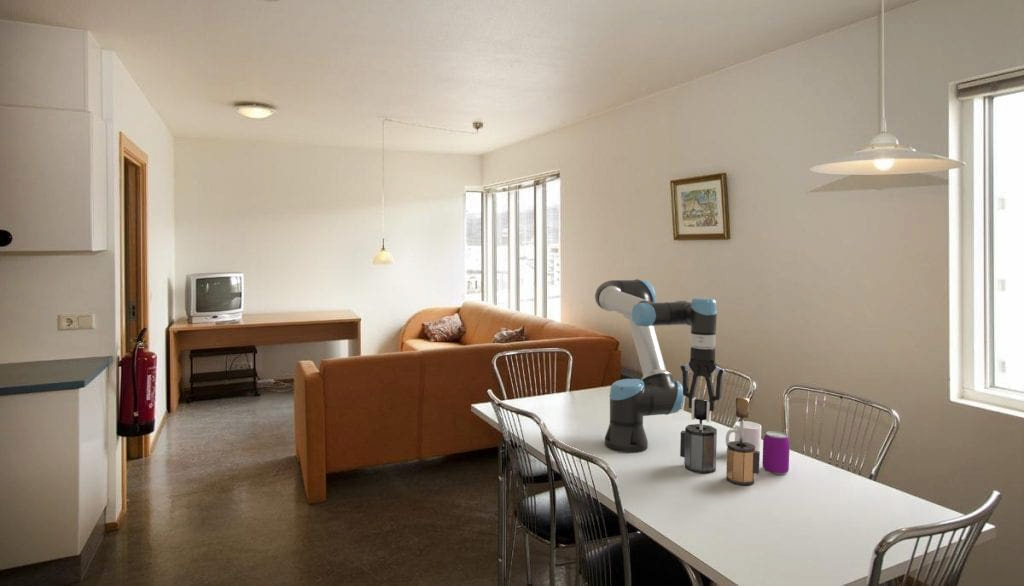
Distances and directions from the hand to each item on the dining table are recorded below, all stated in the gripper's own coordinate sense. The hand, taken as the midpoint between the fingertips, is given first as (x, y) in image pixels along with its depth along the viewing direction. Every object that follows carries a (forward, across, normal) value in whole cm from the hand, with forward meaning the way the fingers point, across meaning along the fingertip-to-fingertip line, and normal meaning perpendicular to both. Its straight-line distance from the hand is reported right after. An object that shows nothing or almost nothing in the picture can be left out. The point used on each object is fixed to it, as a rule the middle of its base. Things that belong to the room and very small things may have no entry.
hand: (701, 419), depth 190 cm
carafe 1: (+16, 0, 0) cm, 16 cm away
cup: (+16, +9, +21) cm, 28 cm away
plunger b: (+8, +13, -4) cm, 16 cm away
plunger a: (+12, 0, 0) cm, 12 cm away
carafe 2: (+16, +13, -4) cm, 21 cm away
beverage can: (+16, +21, +10) cm, 28 cm away
